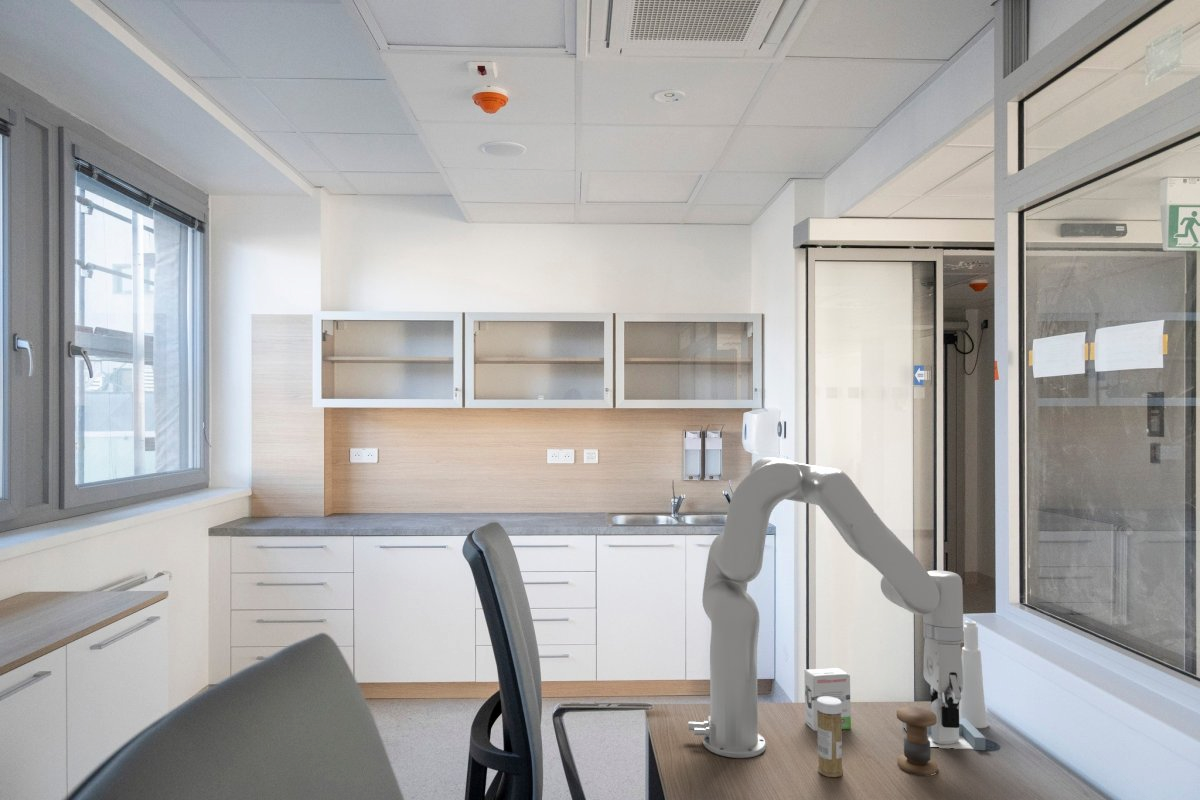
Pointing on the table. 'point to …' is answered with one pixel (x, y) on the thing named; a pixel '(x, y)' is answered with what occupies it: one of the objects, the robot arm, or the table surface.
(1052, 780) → the table surface
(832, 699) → the sprinkles bottle
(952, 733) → the eye dropper bottle
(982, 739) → the notched board
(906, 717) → the spool
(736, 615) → the robot arm
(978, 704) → the cosmetic bottle
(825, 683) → the ink box
